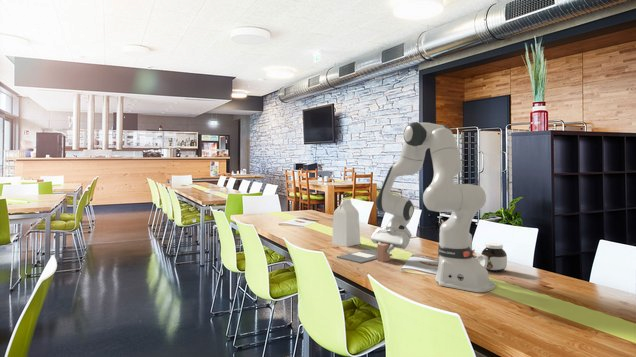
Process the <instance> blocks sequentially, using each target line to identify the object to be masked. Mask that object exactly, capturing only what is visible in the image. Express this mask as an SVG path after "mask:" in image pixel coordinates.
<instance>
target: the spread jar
mask: <svg viewBox="0 0 636 357" xmlns="http://www.w3.org/2000/svg"><path fill="white" fill-rule="evenodd" d="M474 259H476V260H477V261H478V262H479V263H480V264H481V265H482V266H483V267H485V268H486V269H487V271H488V273H502V272H504V271H505V270H506V268H507V267H508V255H507V252H506V251H505V250H504V247H503V244H502V243H498V242H486V243H485V248H484V249H483V250H482V251H481V255H480V254H478V255H477V256H476V257H474Z"/></svg>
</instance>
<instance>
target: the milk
mask: <svg viewBox="0 0 636 357" xmlns="http://www.w3.org/2000/svg"><path fill="white" fill-rule="evenodd" d="M332 216H333V217H332V235H331V236H332V238H331V244H332V245H337V246H341V247H352V246H355V245H356V246H357V245H361V232H360V230H361V229H360V214H359V211H358V209H357V208H356V207H355V205H353V204H352V200H351V198H348V199H347V198H346V199H341V202H340V204H339V205H338V206H337V208H335V210H334V211H333V215H332Z"/></svg>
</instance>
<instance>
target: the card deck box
mask: <svg viewBox="0 0 636 357" xmlns="http://www.w3.org/2000/svg"><path fill="white" fill-rule="evenodd" d="M376 246H377V248H376V251H377V259H376V260H377V262H381V263H385V262H389V261H390V254H391V253H389V254H388V253H386V252H385V250H386V248H387V249H388V248H389V247H390V244H386V243H382V244H376Z"/></svg>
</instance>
